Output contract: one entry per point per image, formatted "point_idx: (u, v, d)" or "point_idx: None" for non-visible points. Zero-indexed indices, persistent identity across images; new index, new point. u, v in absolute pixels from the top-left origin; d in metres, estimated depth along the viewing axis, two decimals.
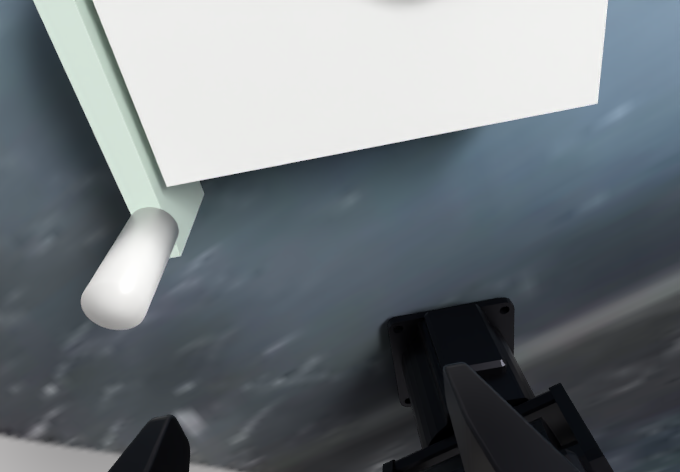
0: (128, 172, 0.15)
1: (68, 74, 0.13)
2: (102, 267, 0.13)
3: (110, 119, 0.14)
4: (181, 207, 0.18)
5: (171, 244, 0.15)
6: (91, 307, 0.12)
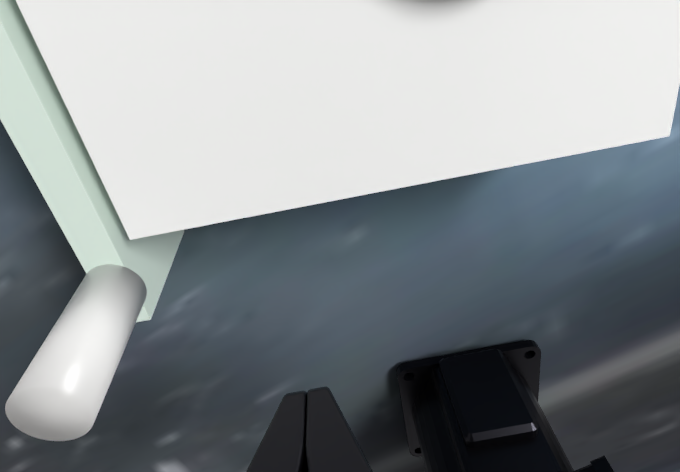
0: (80, 223, 0.12)
1: None
2: (36, 360, 0.10)
3: (52, 160, 0.11)
4: (153, 255, 0.14)
5: (135, 313, 0.12)
6: (20, 416, 0.09)
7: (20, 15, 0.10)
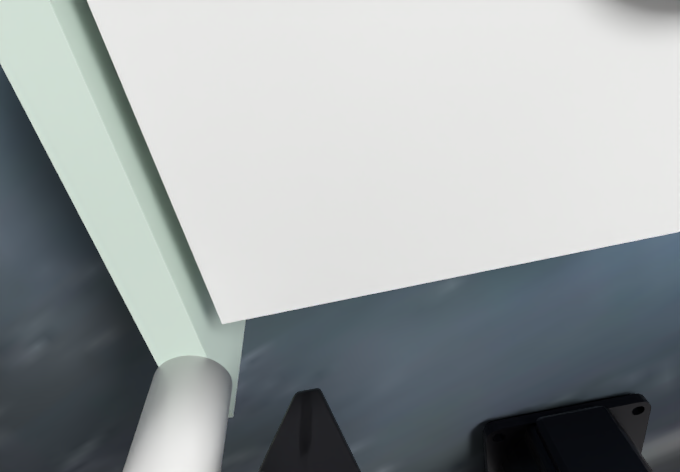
0: (156, 308, 0.09)
1: (54, 162, 0.07)
2: None
3: (128, 232, 0.08)
4: (229, 329, 0.12)
5: (226, 423, 0.09)
6: None
7: (92, 41, 0.07)
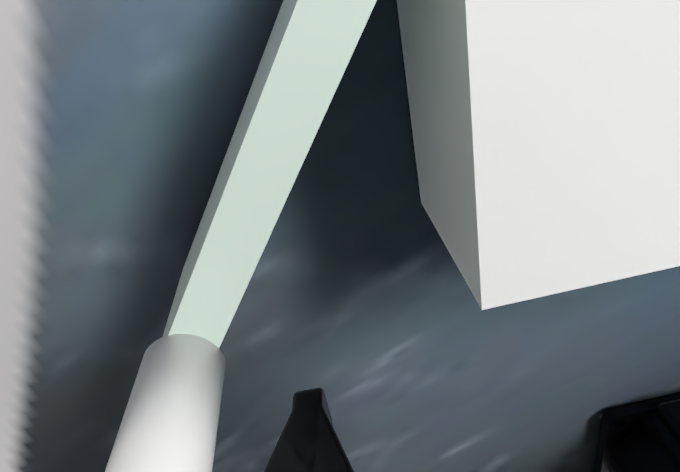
0: (216, 286, 0.09)
1: (252, 126, 0.07)
2: None
3: (255, 214, 0.08)
4: None
5: None
6: None
7: None
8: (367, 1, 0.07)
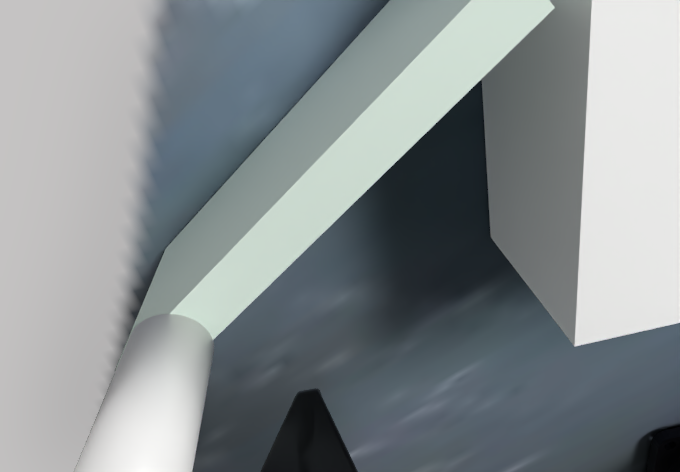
0: (237, 279, 0.09)
1: (335, 144, 0.08)
2: (142, 470, 0.06)
3: (303, 223, 0.09)
4: None
5: None
6: None
7: None
8: (477, 73, 0.08)
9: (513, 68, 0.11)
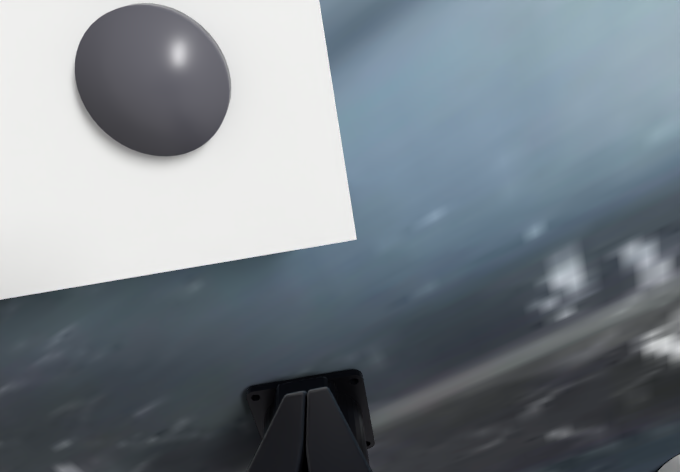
0: None
1: None
2: None
3: None
4: None
5: None
6: None
7: None
8: None
9: None
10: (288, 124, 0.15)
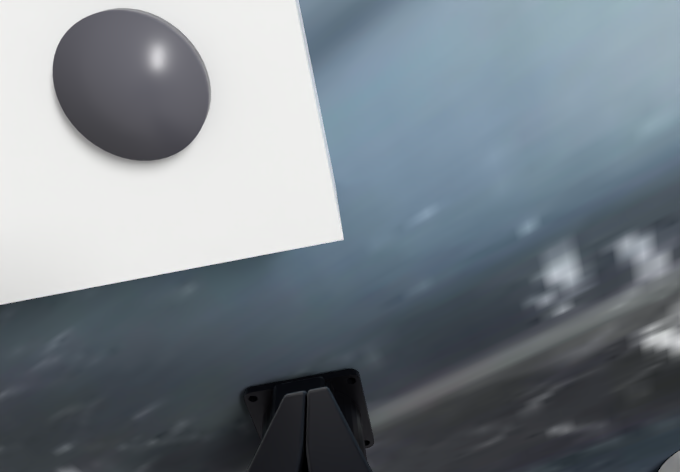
0: None
1: None
2: None
3: None
4: None
5: None
6: None
7: None
8: None
9: None
10: (270, 125, 0.15)
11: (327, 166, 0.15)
